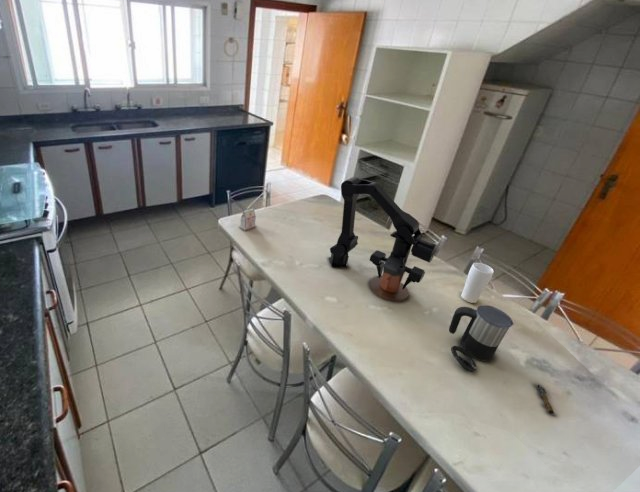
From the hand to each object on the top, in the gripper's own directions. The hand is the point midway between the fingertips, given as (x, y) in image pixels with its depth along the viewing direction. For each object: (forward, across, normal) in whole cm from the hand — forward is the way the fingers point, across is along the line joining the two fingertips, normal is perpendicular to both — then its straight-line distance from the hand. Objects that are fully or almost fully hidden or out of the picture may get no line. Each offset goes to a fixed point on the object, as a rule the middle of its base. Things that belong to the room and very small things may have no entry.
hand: (391, 283), depth 128 cm
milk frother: (+4, +31, -12) cm, 33 cm away
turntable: (+3, 0, 0) cm, 3 cm away
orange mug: (+2, 0, -1) cm, 2 cm away
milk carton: (+3, -70, -7) cm, 71 cm away
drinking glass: (+4, +24, +18) cm, 30 cm away
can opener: (+4, +49, -13) cm, 51 cm away
